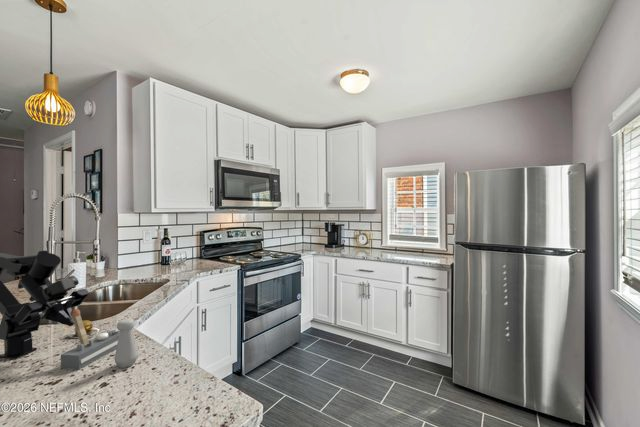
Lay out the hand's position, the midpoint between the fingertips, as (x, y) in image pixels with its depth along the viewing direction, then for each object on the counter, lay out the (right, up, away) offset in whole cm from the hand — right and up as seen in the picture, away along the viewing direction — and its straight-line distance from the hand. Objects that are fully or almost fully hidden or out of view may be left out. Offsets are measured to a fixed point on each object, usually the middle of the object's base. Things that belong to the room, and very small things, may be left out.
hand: (72, 324), depth 92 cm
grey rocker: (+6, -6, +10) cm, 13 cm away
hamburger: (-13, -12, +21) cm, 27 cm away
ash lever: (+4, -6, 0) cm, 7 cm away
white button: (+5, -6, +6) cm, 10 cm away
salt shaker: (+18, -11, -3) cm, 22 cm away
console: (+5, -11, +4) cm, 12 cm away
